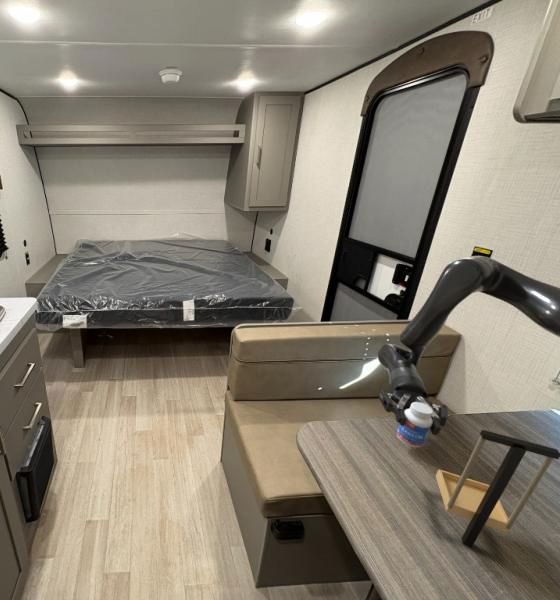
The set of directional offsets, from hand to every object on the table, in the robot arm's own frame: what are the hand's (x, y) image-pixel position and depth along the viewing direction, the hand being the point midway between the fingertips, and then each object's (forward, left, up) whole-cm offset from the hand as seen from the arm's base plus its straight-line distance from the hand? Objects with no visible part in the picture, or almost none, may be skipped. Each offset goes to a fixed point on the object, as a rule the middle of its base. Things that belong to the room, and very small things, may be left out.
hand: (419, 427), depth 73 cm
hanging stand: (-9, +13, -10) cm, 18 cm away
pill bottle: (+1, -2, -6) cm, 7 cm away
